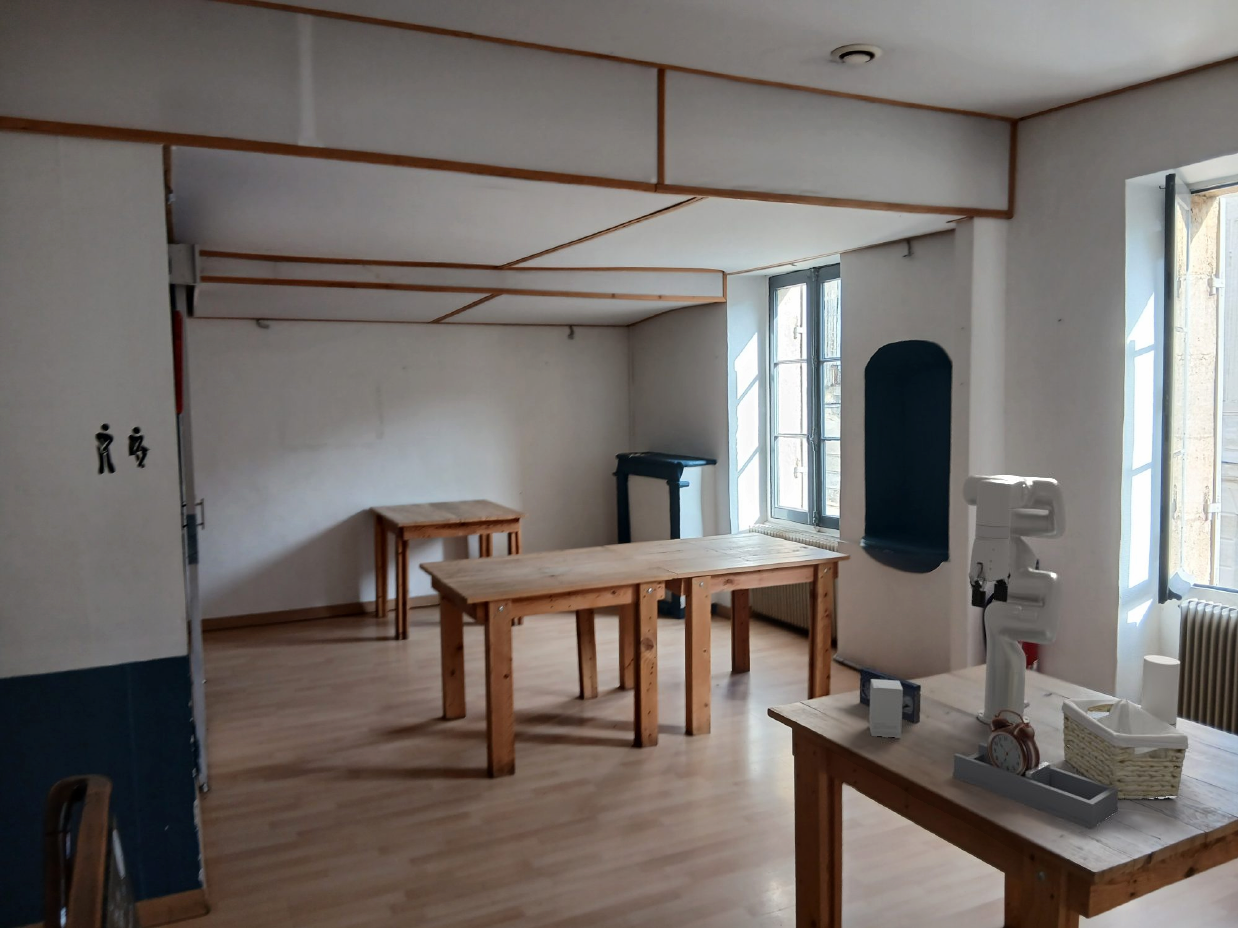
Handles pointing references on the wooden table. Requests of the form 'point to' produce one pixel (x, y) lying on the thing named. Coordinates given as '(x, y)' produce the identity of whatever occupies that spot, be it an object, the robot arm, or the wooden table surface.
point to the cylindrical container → (1161, 687)
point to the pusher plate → (1040, 773)
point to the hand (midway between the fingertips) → (989, 603)
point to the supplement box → (885, 708)
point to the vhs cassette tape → (909, 693)
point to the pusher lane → (1042, 789)
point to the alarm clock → (1012, 745)
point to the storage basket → (1124, 747)
